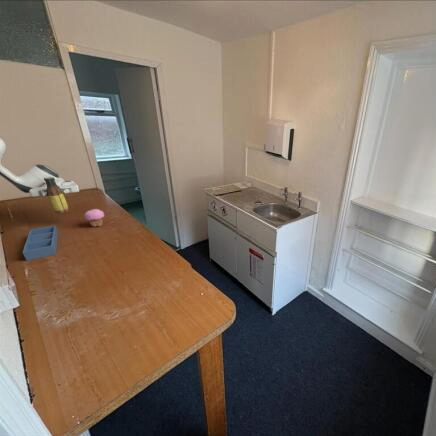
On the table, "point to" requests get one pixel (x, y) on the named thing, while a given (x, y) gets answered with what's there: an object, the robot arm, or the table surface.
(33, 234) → the tray
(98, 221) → the cupcake
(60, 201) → the sauce bottle
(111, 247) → the table surface
